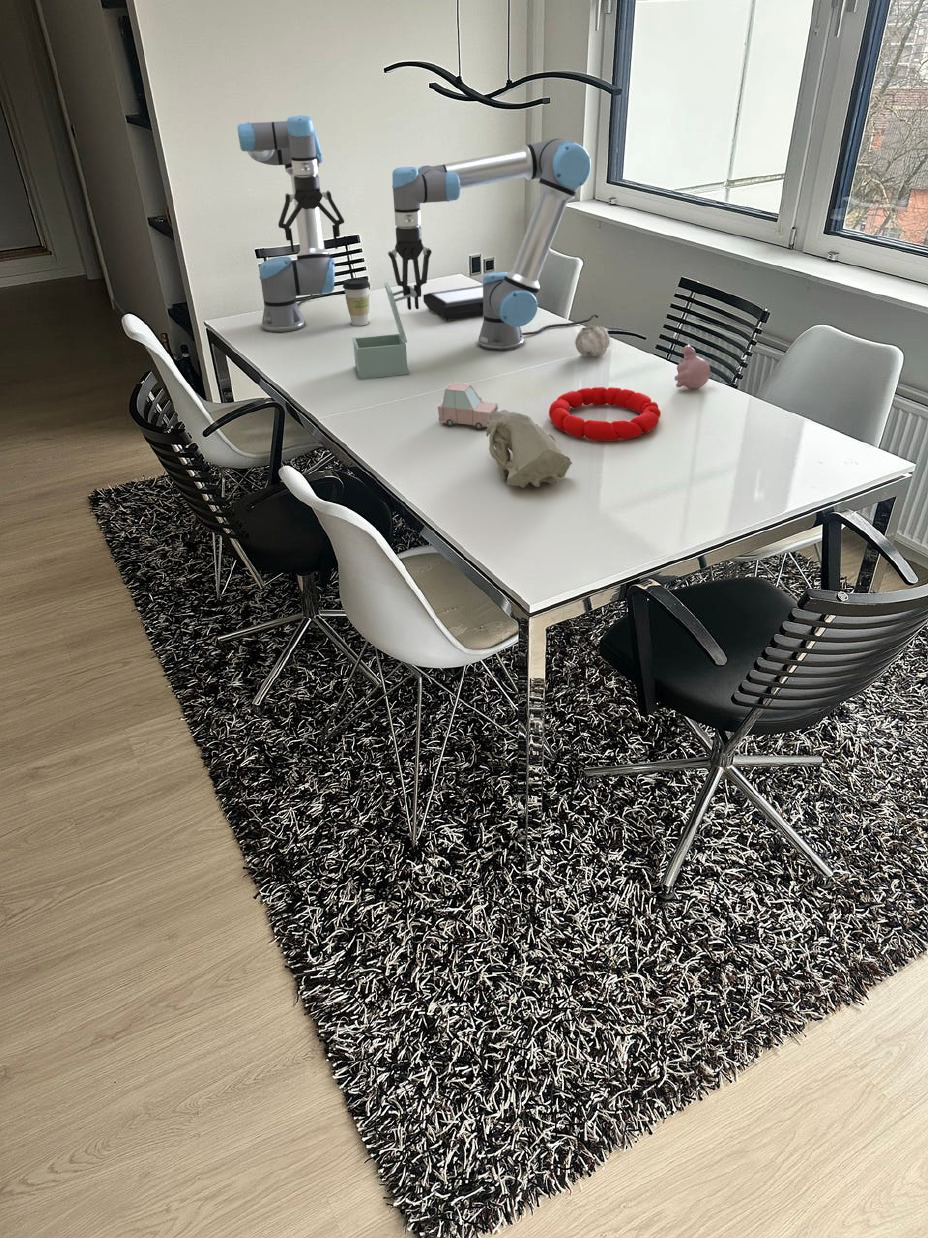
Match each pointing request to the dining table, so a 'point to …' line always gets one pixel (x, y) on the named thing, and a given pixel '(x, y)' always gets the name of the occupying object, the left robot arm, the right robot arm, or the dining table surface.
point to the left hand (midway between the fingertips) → (314, 249)
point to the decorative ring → (604, 428)
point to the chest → (380, 356)
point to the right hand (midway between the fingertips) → (413, 307)
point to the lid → (394, 307)
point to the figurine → (692, 370)
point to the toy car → (465, 406)
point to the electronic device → (456, 303)
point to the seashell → (592, 340)
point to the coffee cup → (357, 300)
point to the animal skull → (525, 450)
